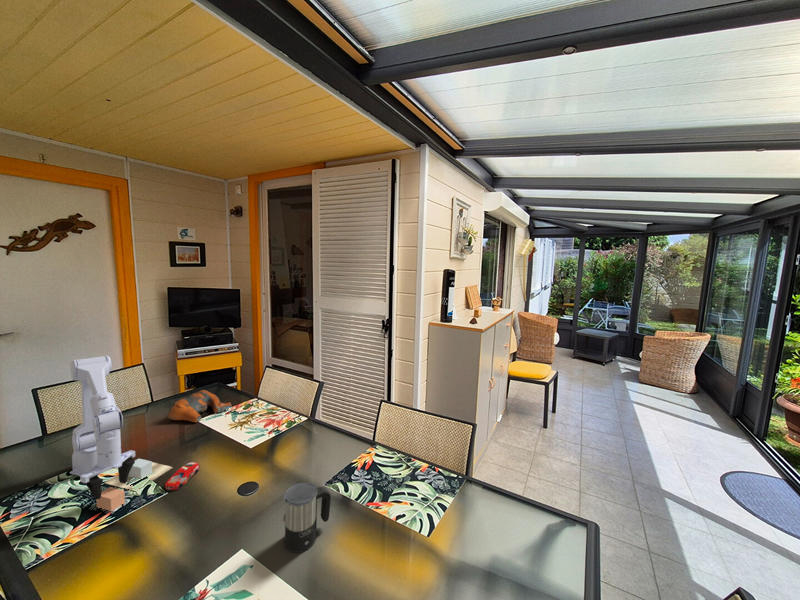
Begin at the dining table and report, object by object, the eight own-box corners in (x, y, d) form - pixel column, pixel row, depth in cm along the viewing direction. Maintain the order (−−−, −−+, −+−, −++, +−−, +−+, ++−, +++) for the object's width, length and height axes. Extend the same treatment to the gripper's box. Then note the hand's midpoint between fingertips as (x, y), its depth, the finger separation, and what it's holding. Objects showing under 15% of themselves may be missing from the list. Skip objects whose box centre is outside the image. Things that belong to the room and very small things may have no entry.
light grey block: (128, 476, 118) (127, 464, 118) (139, 469, 122) (138, 458, 122) (141, 479, 117) (140, 467, 116) (151, 472, 121) (151, 461, 120)
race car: (175, 493, 112) (175, 482, 112) (161, 491, 113) (160, 480, 112) (202, 469, 125) (202, 460, 125) (189, 468, 126) (189, 458, 125)
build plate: (104, 483, 114) (104, 482, 114) (143, 460, 128) (143, 460, 128) (135, 491, 111) (135, 491, 111) (172, 467, 125) (172, 467, 125)
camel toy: (162, 420, 157) (190, 432, 152) (171, 393, 158) (199, 404, 154) (203, 411, 181) (229, 422, 176) (211, 388, 182) (236, 397, 178)
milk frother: (297, 559, 90) (298, 509, 88) (262, 531, 98) (263, 485, 96) (334, 526, 102) (336, 481, 100) (300, 504, 110) (301, 462, 108)
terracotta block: (96, 508, 103) (96, 494, 103) (110, 499, 107) (110, 486, 107) (111, 512, 102) (111, 499, 102) (124, 503, 106) (124, 490, 105)
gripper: (92, 465, 95) (94, 508, 96) (142, 440, 109) (143, 478, 110) (74, 460, 96) (76, 503, 98) (125, 436, 110) (126, 474, 112)
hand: (110, 489), depth 104 cm, fingers open, 7 cm apart
